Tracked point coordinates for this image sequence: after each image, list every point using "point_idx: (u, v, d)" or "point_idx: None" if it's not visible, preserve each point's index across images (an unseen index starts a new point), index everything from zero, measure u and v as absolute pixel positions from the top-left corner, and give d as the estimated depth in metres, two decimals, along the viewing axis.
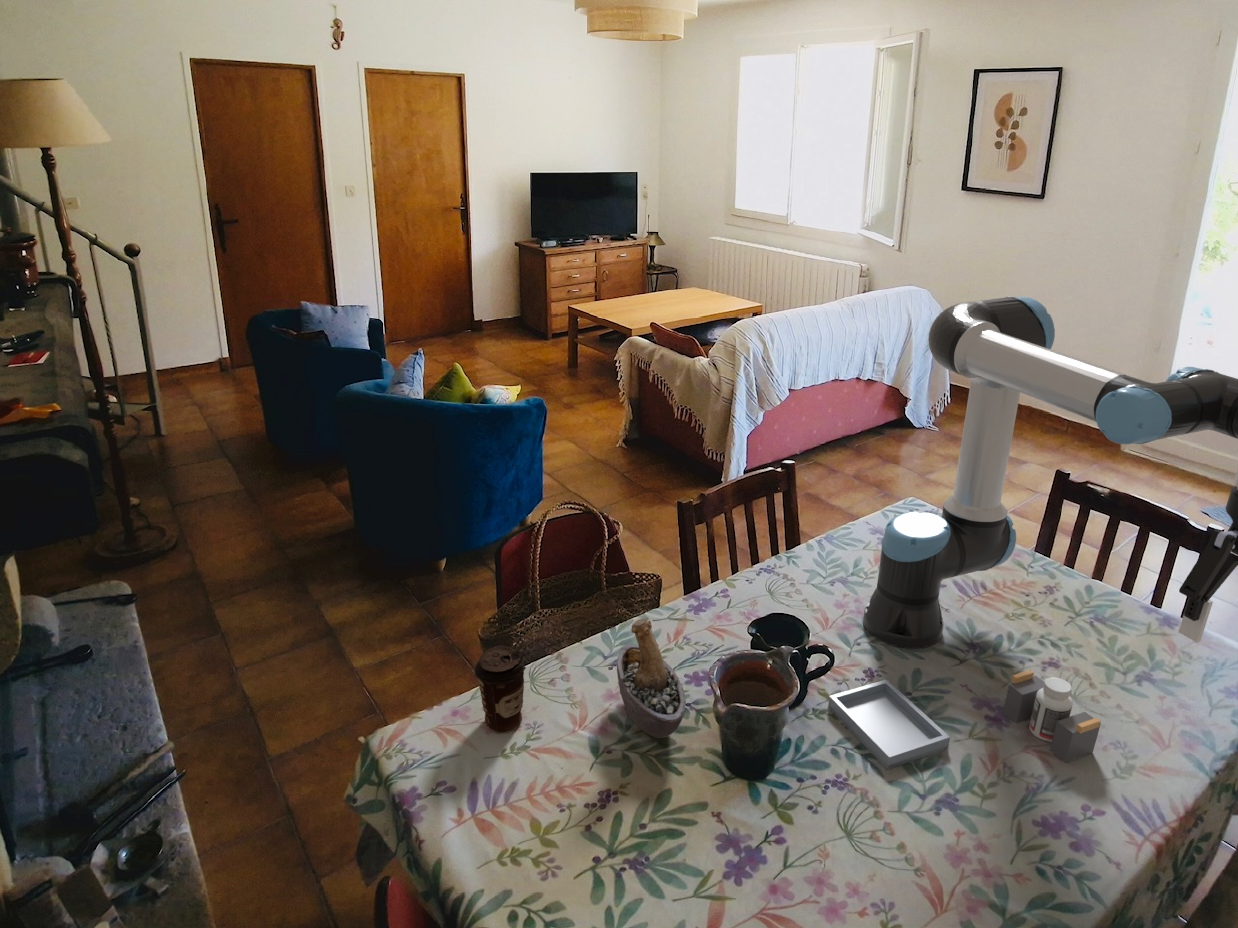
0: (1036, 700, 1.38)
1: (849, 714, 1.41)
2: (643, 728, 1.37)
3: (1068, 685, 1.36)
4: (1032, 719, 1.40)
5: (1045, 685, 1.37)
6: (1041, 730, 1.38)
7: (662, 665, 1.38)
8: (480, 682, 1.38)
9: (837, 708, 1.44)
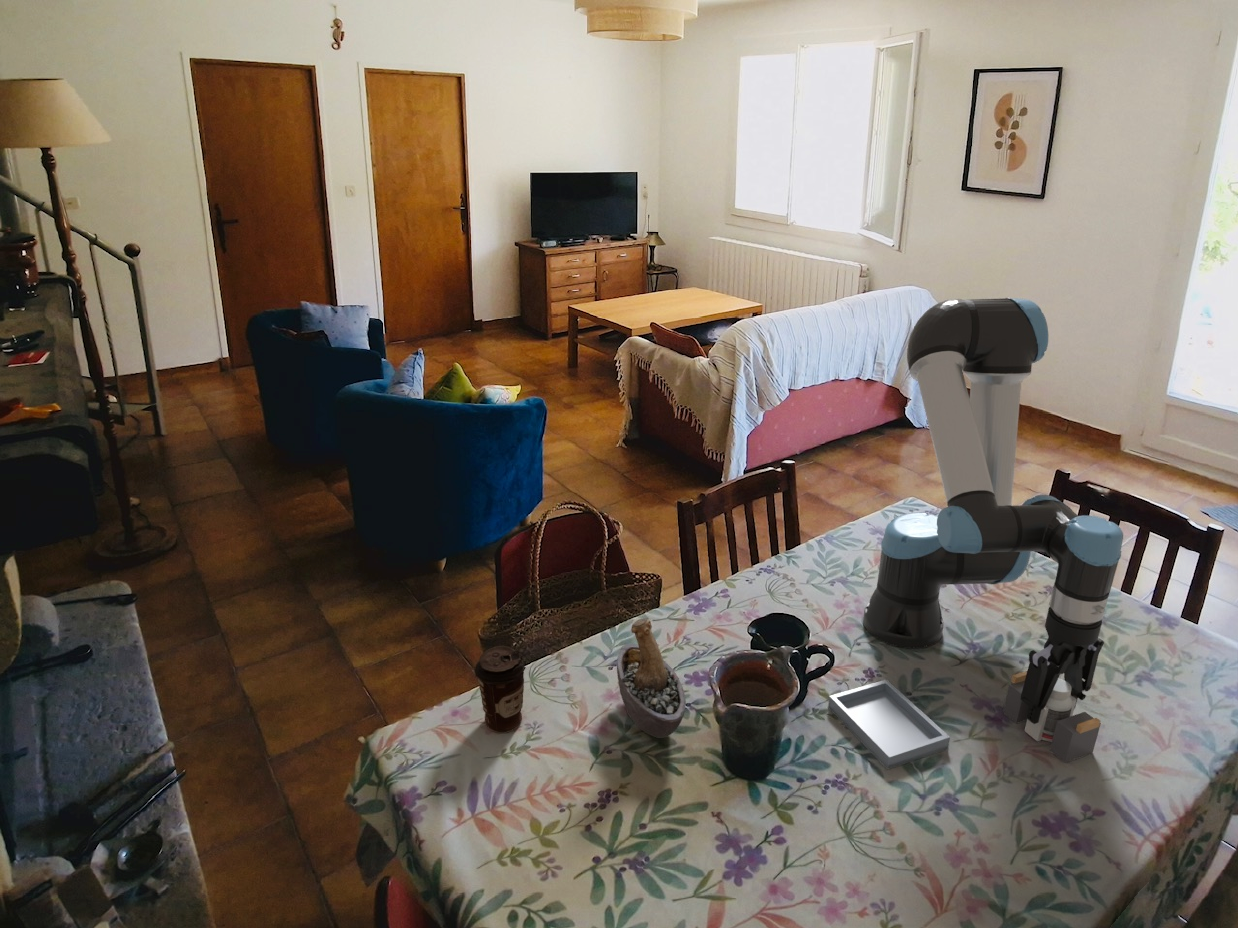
0: None
1: (849, 714, 1.41)
2: (643, 728, 1.37)
3: (1068, 685, 1.36)
4: None
5: None
6: None
7: (662, 665, 1.38)
8: (480, 682, 1.38)
9: (837, 708, 1.44)
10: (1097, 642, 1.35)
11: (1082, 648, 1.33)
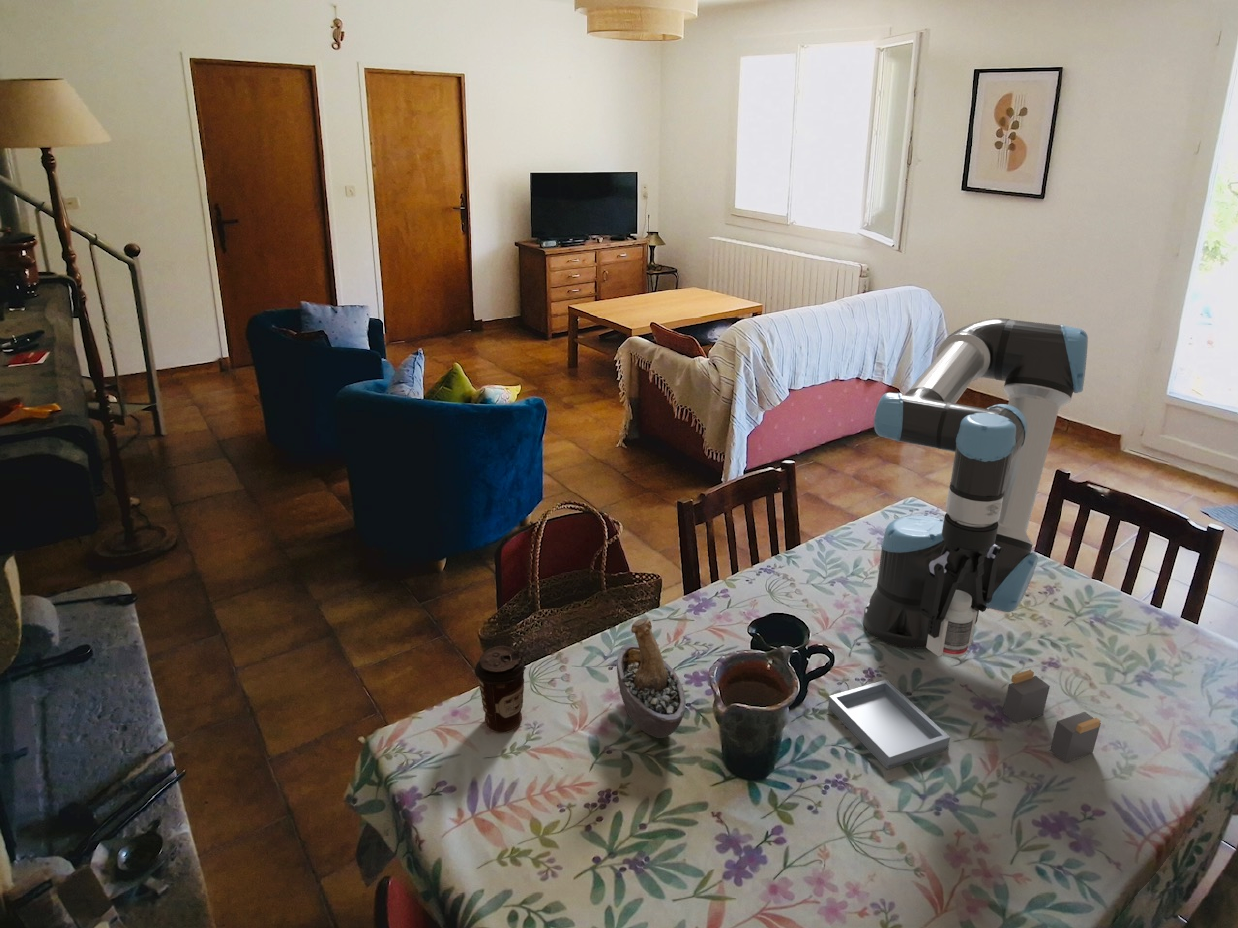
0: None
1: (849, 714, 1.41)
2: (643, 728, 1.37)
3: (969, 596, 1.31)
4: None
5: None
6: None
7: (662, 665, 1.38)
8: (480, 682, 1.38)
9: (837, 708, 1.44)
10: (996, 549, 1.29)
11: (980, 554, 1.27)
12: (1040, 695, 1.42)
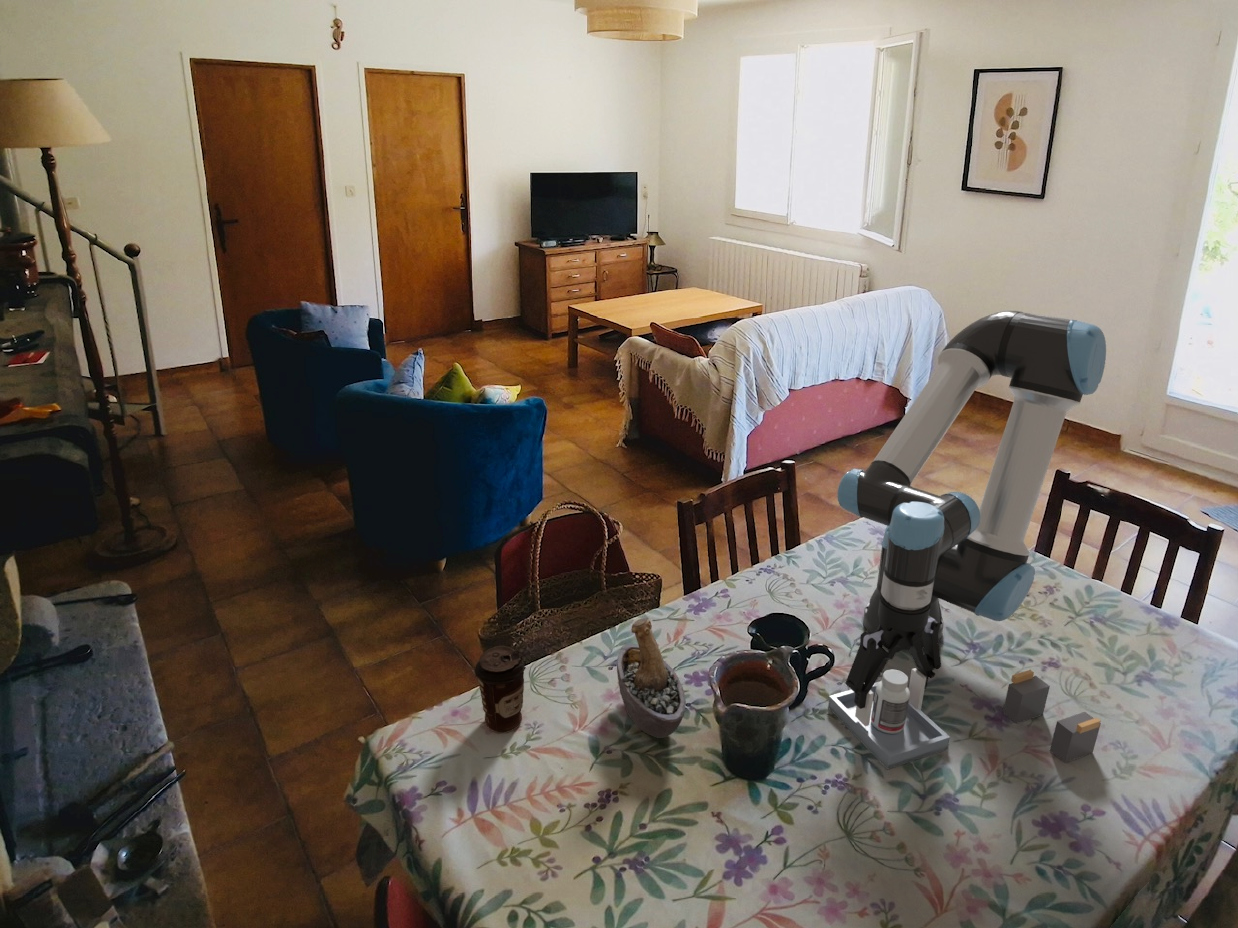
0: (875, 692, 1.39)
1: (849, 714, 1.41)
2: (643, 728, 1.37)
3: (905, 677, 1.37)
4: (872, 711, 1.41)
5: (883, 677, 1.38)
6: (879, 721, 1.39)
7: (662, 665, 1.38)
8: (480, 682, 1.38)
9: (837, 708, 1.44)
10: (933, 625, 1.35)
11: (913, 634, 1.33)
12: (1040, 695, 1.42)
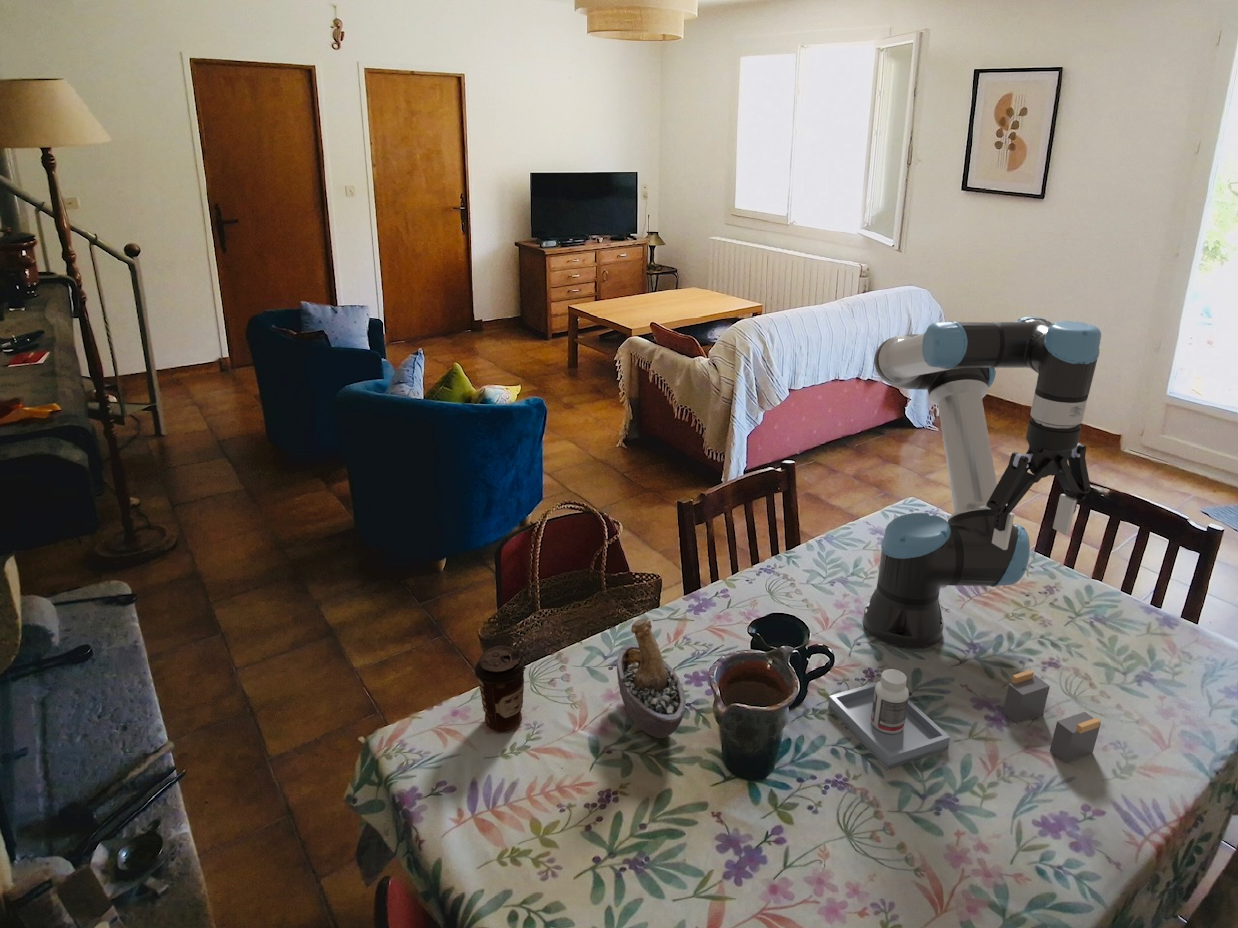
0: (874, 692, 1.39)
1: (849, 714, 1.41)
2: (643, 728, 1.37)
3: (904, 677, 1.37)
4: (872, 711, 1.41)
5: (881, 677, 1.38)
6: (879, 721, 1.39)
7: (662, 665, 1.38)
8: (480, 682, 1.38)
9: (837, 708, 1.44)
10: (1079, 449, 1.37)
11: (1061, 458, 1.35)
12: (1040, 695, 1.42)
